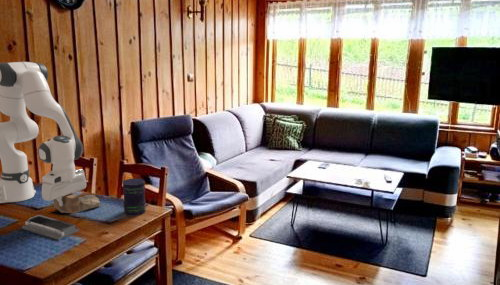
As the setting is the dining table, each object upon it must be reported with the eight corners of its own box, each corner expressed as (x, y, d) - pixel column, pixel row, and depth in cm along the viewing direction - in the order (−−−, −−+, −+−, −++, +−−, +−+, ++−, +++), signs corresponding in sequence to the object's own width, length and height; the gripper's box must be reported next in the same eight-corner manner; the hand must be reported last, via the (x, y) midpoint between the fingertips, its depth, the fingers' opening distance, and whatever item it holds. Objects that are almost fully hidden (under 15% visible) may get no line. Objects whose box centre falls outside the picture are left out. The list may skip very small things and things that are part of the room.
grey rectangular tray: (22, 228, 169) (21, 221, 168) (43, 220, 178) (42, 213, 177) (58, 240, 160) (57, 232, 159) (79, 230, 168) (78, 223, 168)
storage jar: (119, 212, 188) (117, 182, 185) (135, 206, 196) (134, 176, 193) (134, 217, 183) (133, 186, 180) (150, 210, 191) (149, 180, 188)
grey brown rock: (58, 217, 182) (103, 207, 194) (57, 207, 181) (102, 197, 193) (51, 208, 193) (94, 199, 205) (50, 199, 192) (93, 190, 204)
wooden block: (52, 208, 178) (51, 193, 176) (60, 205, 181) (59, 191, 180) (71, 214, 173) (70, 199, 171) (79, 211, 176) (78, 196, 174)
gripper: (78, 166, 184) (80, 195, 187) (38, 178, 166) (40, 210, 169) (88, 169, 181) (90, 198, 184) (48, 181, 163) (50, 213, 167)
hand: (66, 204), depth 177 cm, fingers closed on wooden block, 3 cm apart
